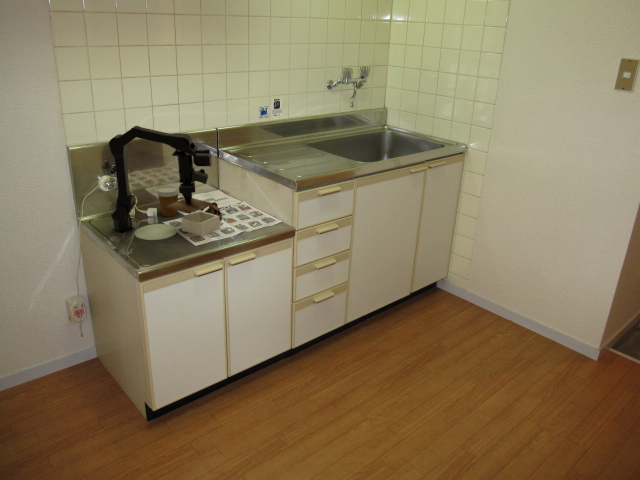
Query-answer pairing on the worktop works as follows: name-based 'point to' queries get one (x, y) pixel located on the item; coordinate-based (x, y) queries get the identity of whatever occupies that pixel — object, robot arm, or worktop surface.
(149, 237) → the sage mat
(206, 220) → the cream open box
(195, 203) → the walnut lid
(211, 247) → the worktop surface
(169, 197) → the disposable coffee cup
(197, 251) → the worktop surface
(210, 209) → the brown curved piece
